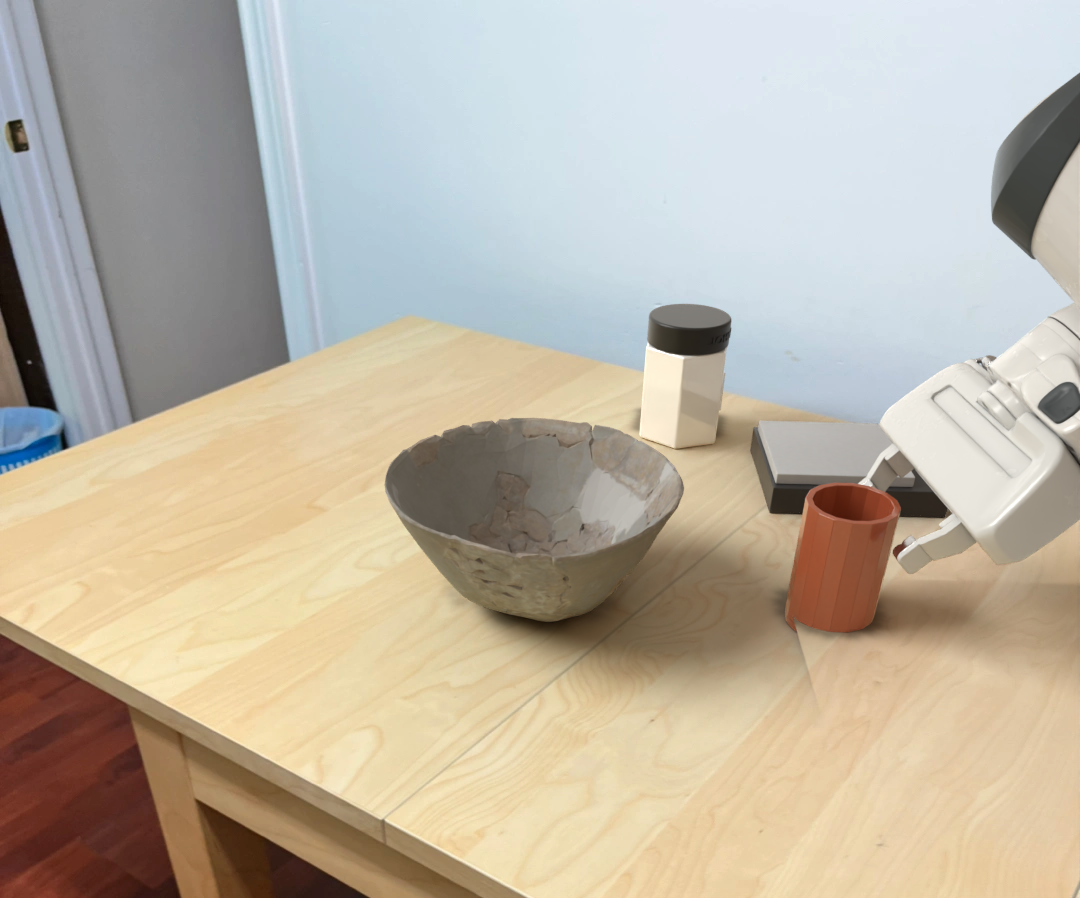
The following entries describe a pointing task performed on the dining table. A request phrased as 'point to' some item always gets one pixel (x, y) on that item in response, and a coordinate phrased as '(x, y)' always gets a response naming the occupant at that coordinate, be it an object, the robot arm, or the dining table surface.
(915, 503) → the kitchen scale
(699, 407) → the jar
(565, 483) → the ceramic bowl
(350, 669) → the dining table surface
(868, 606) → the cup
